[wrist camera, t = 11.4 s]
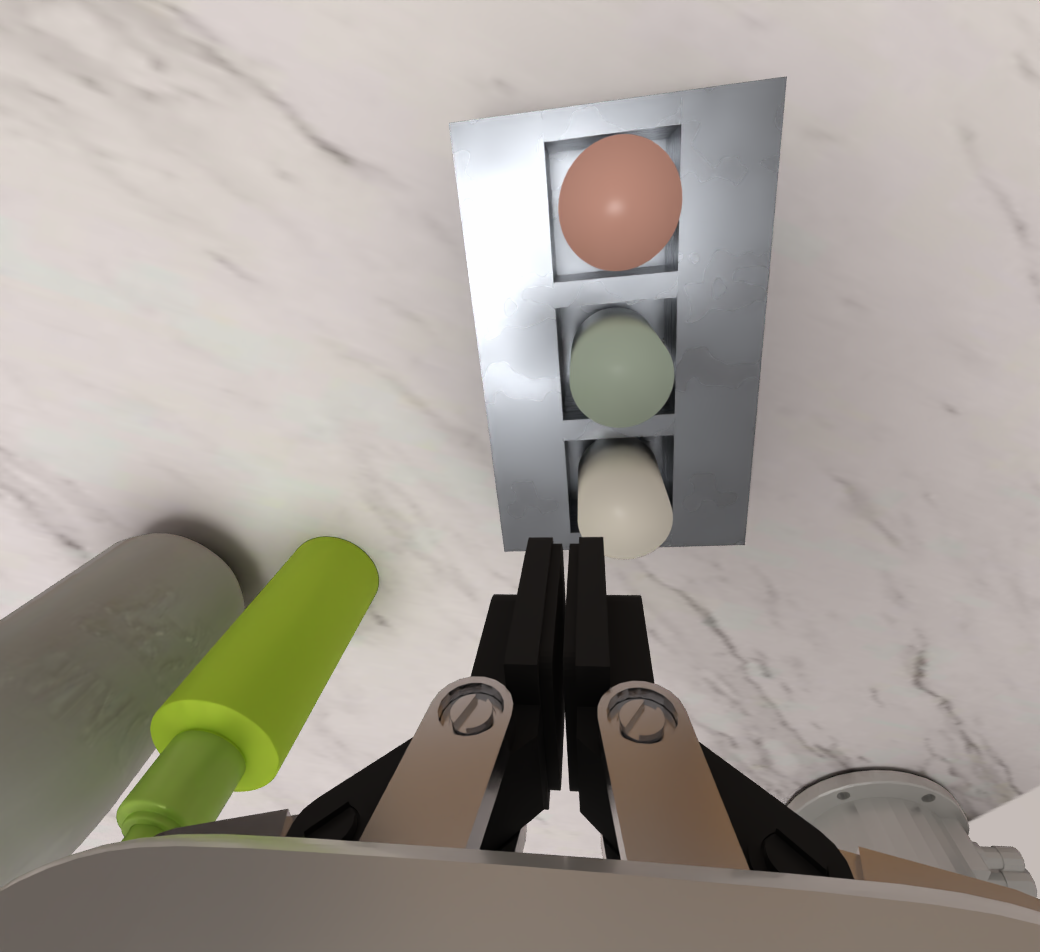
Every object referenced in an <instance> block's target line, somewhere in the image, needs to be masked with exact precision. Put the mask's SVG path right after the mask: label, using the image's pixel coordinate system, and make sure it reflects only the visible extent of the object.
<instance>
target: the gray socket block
mask: <svg viewBox="0 0 1040 952" xmlns="http://www.w3.org/2000/svg"><path fill="white" fill-rule="evenodd" d="M786 79H787V77H779V78H772V79H765V80H758V81H750V82H743V83H736V84H728V85H721V86H714V87H707V88H699V89H692V90H685V91H678V92H670V93H663V94H656V95H649V96H641V97H634V98H627V99H620V100H612V101H605V102H598V103H591V104H583V105H576V106H569V107H561V108H554V109H547V110H540V111H532V112H525V113H518V114H511V115H503V116H496V117H489V118H482V119H474V120H467V121H460V122H453V123H449V129H450V136H451V144H452V152H453V159H454V167H455V175H456V182H457V190H458V198H459V206H460V213H461V221H462V229H463V236H464V244H465V252H466V259H467V267H468V275H469V282H470V290H471V298H472V305H473V313H474V321H475V329H476V336H477V344H478V352H479V359H480V367H481V375H482V382H483V390H484V398H485V405H486V413H487V421H488V428H489V436H490V444H491V451H492V459H493V467H494V475H495V482H496V490H497V498H498V505H499V513H500V521H501V528H502V536H503V544H504V551H505V552H507V551H526V547H527V542H528V538H529V537H553V542H554V544H562V546H563V550H569V546H570V543H579V537H582V536H581V533H580V531H579V527H578V465H579V461H580V459H581V456H582V454H583V453H584V451H585V450H586V449H587V448H588V447H589V446H590V445H591V444H592V443H594V442H595V441H597V440H598V439H608V438H626V437H635V438H637V439H639V440H641V441H642V442H644V443H645V444H646V445H647V446H648V447H649V448H650V449H651V451H652V452H653V454H654V456H655V458H656V461H657V464H658V467H659V470H660V473H661V476H662V480H663V483H664V486H665V489H666V492H667V495H668V498H669V501H670V504H671V507H672V512H673V524H672V528H671V531H670V533H669V535H668V537H667V538H666V540H665V541H664V542H663V543H662V544H661V545H660V546H659V547H684V546H719V545H745V535H746V524H747V513H748V502H749V491H750V480H751V468H752V457H753V446H754V435H755V424H756V413H757V402H758V391H759V380H760V368H761V357H762V346H763V335H764V324H765V313H766V302H767V291H768V279H769V268H770V257H771V246H772V235H773V224H774V213H775V202H776V190H777V179H778V168H779V157H780V146H781V135H782V124H783V113H784V102H785V90H786ZM618 134H632V135H638V136H641V137H644V138H647V139H649V140H651V141H653V142H654V143H656V144H658V145H659V146H660V147H661V148H662V149H663V150H664V151H665V152H666V153H667V154H668V155H669V156H670V158H671V159H672V161H673V163H674V164H675V166H676V169H677V171H678V173H679V177H680V180H681V186H682V209H681V214H680V218H679V221H678V224H677V227H676V229H675V231H674V233H673V235H672V237H671V238H670V240H669V241H668V243H667V244H666V245H665V247H664V248H663V249H662V250H661V251H660V252H659V253H658V254H657V255H656V256H654V257H653V258H652V259H651V260H649V261H648V262H646V263H644V264H642V265H640V266H638V267H636V268H632V269H629V270H623V271H607V270H602V269H598V268H596V267H593V266H591V265H589V264H588V263H586V262H584V261H583V260H582V259H581V258H579V257H578V256H577V255H576V254H575V253H574V252H573V250H572V249H571V248H570V246H569V245H568V243H567V241H566V239H565V238H564V235H563V232H562V230H561V226H560V222H559V214H558V203H559V195H560V190H561V186H562V183H563V181H564V178H565V176H566V174H567V172H568V170H569V168H570V167H571V165H572V163H573V162H574V161H575V160H576V158H577V157H578V156H579V155H580V154H581V153H582V152H583V151H584V150H585V149H586V148H588V147H589V146H590V145H592V144H593V143H595V142H597V141H599V140H601V139H603V138H606V137H609V136H613V135H618ZM616 307H619V308H626V309H630V310H632V311H635V312H636V313H638V314H640V315H641V316H642V317H644V318H645V319H646V320H647V321H648V323H649V324H650V325H651V327H652V328H653V330H654V331H655V333H656V334H657V335H658V337H659V338H660V340H661V341H662V343H663V344H664V345H665V347H666V348H667V350H668V352H669V354H670V356H671V358H672V361H673V366H674V383H673V387H672V391H671V393H670V396H669V398H668V400H667V401H666V403H665V404H664V406H663V407H662V408H661V409H660V410H659V411H658V412H657V413H656V414H655V415H654V416H653V417H651V418H650V419H648V420H646V421H644V422H643V423H640V424H638V425H635V426H630V427H624V428H614V427H608V426H604V425H601V424H599V423H596V422H594V421H593V420H591V419H590V418H588V417H587V416H586V415H585V414H584V413H583V412H582V411H581V410H580V409H579V408H578V406H577V405H576V403H575V401H574V399H573V396H572V393H571V390H570V362H571V348H572V342H573V339H574V336H575V334H576V332H577V330H578V328H579V327H580V326H581V324H582V323H583V322H584V321H585V320H586V319H587V318H588V317H590V316H591V315H593V314H594V313H596V312H598V311H600V310H603V309H607V308H616Z"/></svg>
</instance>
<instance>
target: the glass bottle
mask: <svg viewBox="0 0 1040 952" xmlns="http://www.w3.org/2000/svg"><path fill="white" fill-rule="evenodd" d="M244 610H245V608H244V600H243V595H242V592H241V589H240V586H239V583H238V581H237V579H236V577H235V575H234V573H233V572H232V570H231V569H230V567H229V566H228V565H227V564H226V563H225V562H224V561H223V560H222V559H221V558H220V557H219V556H217V555H216V554H215V553H213V552H212V551H211V550H209V549H208V548H206V547H205V546H203V545H201V544H199V543H197V542H195V541H193V540H191V539H188V538H185V537H182V536H178V535H173V534H163V533H153V534H146V535H141V536H136V537H131V538H128V539H125V540H122V541H119V542H117V543H115V544H114V545H112V546H111V547H109V548H108V549H106V550H105V551H103V552H102V553H100V554H99V555H97V556H96V557H94V558H93V559H91V560H90V561H88V562H87V563H85V564H84V565H82V566H81V567H79V568H78V569H76V570H75V571H73V572H72V573H70V574H69V575H67V576H66V577H64V578H63V579H61V580H60V581H58V582H57V583H55V584H54V585H52V586H51V587H49V588H48V589H46V590H45V591H43V592H42V593H40V594H39V595H37V596H36V597H34V598H33V599H31V600H30V601H28V602H27V603H25V604H24V605H22V606H21V607H19V608H18V609H17V610H15V611H14V612H12V613H11V614H9V615H8V616H6V617H5V618H3V619H2V620H0V887H2V886H4V885H5V884H7V883H9V882H10V881H12V880H13V879H15V878H17V877H19V876H21V875H23V874H25V873H27V872H29V871H31V870H34V869H36V868H38V867H40V866H43V865H45V864H47V863H50V862H52V861H55V860H57V859H60V858H63V857H66V856H70V855H71V854H72V853H73V852H74V851H75V850H76V849H77V848H78V847H79V846H80V845H81V843H82V842H83V841H84V840H85V839H86V838H87V836H88V835H89V834H90V833H91V832H92V831H93V830H94V829H95V827H96V826H97V825H98V824H99V823H100V821H101V820H102V819H103V818H104V816H105V815H106V814H107V813H108V812H109V811H110V809H111V808H112V807H113V806H114V804H115V803H116V802H117V800H118V799H119V797H120V796H121V795H122V793H123V792H124V791H125V789H126V788H127V787H128V785H129V784H130V782H131V781H132V780H133V778H134V777H135V776H136V775H137V773H138V772H139V771H140V769H141V768H142V766H143V765H144V764H145V762H146V761H147V760H148V758H149V757H150V756H151V754H152V753H153V752H154V750H155V749H156V747H155V745H154V743H153V740H152V737H151V731H150V726H151V721H152V718H153V716H154V714H155V713H156V712H157V710H158V709H159V708H160V707H161V706H162V705H163V704H164V702H165V701H166V700H167V699H168V698H169V697H170V695H171V694H172V693H173V692H174V691H175V690H176V689H177V687H178V686H179V685H180V684H181V683H182V682H183V681H184V679H185V678H186V677H187V676H188V675H189V674H190V672H191V671H192V670H193V669H194V668H195V667H196V666H197V664H198V663H199V662H200V661H201V660H202V659H203V657H204V656H205V655H206V654H207V653H208V652H209V651H210V649H211V648H212V647H213V646H214V645H215V644H216V643H217V641H218V640H219V639H220V638H221V637H222V636H223V634H224V633H225V632H226V631H227V630H228V629H229V628H230V626H231V625H232V624H233V623H234V622H235V621H236V619H237V618H238V617H239V616H240V615H241V614H242V613H243V611H244Z"/></svg>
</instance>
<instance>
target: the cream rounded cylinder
mask: <svg viewBox="0 0 1040 952" xmlns="http://www.w3.org/2000/svg"><path fill="white" fill-rule="evenodd" d="M672 524H673V512H672V507H671V504H670V501H669V498H668V495H667V492H666V489H665V486H664V483H663V480H662V476H661V473H660V470H659V467H658V464H657V461H656V458H655V456H654V454H653V452H652V451H651V449H650V448H649V447H648V446H647V445H646V444H645V443H644V442H642V441H641V440H639V439H637V438H635V437H626V438H608V439H598V440H597V441H595V442H594V443H592V444H591V445H590V446H589V447H588V448H587V449H586V450H585V451H584V453H583V454H582V456H581V459H580V461H579V465H578V527H579V531H580V533H581V536H582V537H603V541H604V556H607V557H610V558H614V559H634V558H639V557H642V556H645V555H647V554H649V553H651V552H653V551H654V550H656V549H657V548H658V547H659V546H660V545H661V544H662V543H663V542H664V541H665V540H666V538H667V537H668V535H669V533H670V531H671V528H672Z"/></svg>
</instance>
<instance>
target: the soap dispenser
mask: <svg viewBox="0 0 1040 952" xmlns="http://www.w3.org/2000/svg"><path fill="white" fill-rule="evenodd" d="M378 585H379V578H378V573H377V570H376V568H375V565H374V564H373V562H372V560H371V559H370V558H369V557H368V555H367V554H366V553H365V552H364V551H362V550H361V549H360V548H358V547H357V546H355V545H354V544H352V543H350V542H348V541H345V540H343V539H339V538H334V537H318V538H314V539H311V540H309V541H307V542H305V543H304V544H302V545H301V546H300V547H299V548H298V549H297V550H296V552H295V553H294V554H293V555H292V556H291V557H290V558H289V560H288V561H287V562H286V563H285V564H284V565H283V566H282V568H281V569H280V570H279V571H278V572H277V573H276V575H275V576H274V577H273V578H272V579H271V580H270V581H269V583H268V584H267V585H266V586H265V587H264V588H263V590H262V591H261V592H260V593H259V594H258V595H257V596H256V598H255V599H254V600H253V601H252V602H251V603H250V604H249V606H248V607H247V608H246V609H245V610H244V611H243V613H242V614H241V615H240V616H239V617H238V618H237V619H236V621H235V622H234V623H233V624H232V625H231V626H230V628H229V629H228V630H227V631H226V632H225V633H224V634H223V636H222V637H221V638H220V639H219V640H218V641H217V643H216V644H215V645H214V646H213V647H212V648H211V649H210V651H209V652H208V653H207V654H206V655H205V656H204V657H203V659H202V660H201V661H200V662H199V663H198V664H197V666H196V667H195V668H194V669H193V670H192V671H191V672H190V674H189V675H188V676H187V677H186V678H185V679H184V681H183V682H182V683H181V684H180V685H179V686H178V687H177V689H176V690H175V691H174V692H173V693H172V694H171V695H170V697H169V698H168V699H167V700H166V701H165V702H164V704H163V705H162V706H161V707H160V708H159V709H158V710H157V712H156V713H155V714H154V716H153V718H152V721H151V726H150V731H151V737H152V740H153V743H154V745H155V747H156V749H157V750H158V752H159V753H160V755H159V757H158V758H157V759H156V760H155V762H154V763H153V764H152V766H151V767H150V768H149V769H148V771H147V772H146V773H145V774H144V776H143V777H142V778H141V779H140V781H139V782H138V783H137V784H136V786H135V787H134V788H133V790H132V791H131V792H130V793H129V795H128V796H127V797H126V798H125V800H124V801H123V802H122V804H121V805H120V807H119V808H118V810H117V816H116V818H117V822H118V825H119V827H120V828H121V830H122V833H123V836H124V839H123V840H122V841H127V840H132V839H138V838H145V837H154V836H155V835H157V834H159V833H162V832H165V831H168V830H171V829H174V828H178V827H184V826H190V825H196V824H202V823H208V822H214V821H216V819H217V817H218V816H219V814H220V813H221V811H222V809H223V808H224V806H225V804H226V803H227V801H228V799H229V798H230V796H231V795H232V793H233V791H235V792H242V791H251V790H255V789H258V788H261V787H263V786H265V785H267V784H268V783H270V782H271V781H272V780H273V779H274V777H275V776H276V774H277V773H278V771H279V769H280V767H281V765H282V764H283V762H284V760H285V758H286V756H287V755H288V753H289V751H290V749H291V747H292V745H293V744H294V742H295V740H296V738H297V736H298V735H299V733H300V731H301V729H302V727H303V726H304V724H305V722H306V720H307V718H308V716H309V715H310V713H311V711H312V709H313V707H314V706H315V704H316V702H317V700H318V698H319V696H320V695H321V693H322V691H323V689H324V687H325V686H326V684H327V682H328V680H329V678H330V676H331V675H332V673H333V671H334V669H335V667H336V666H337V664H338V662H339V660H340V658H341V657H342V655H343V653H344V651H345V649H346V647H347V646H348V644H349V642H350V640H351V638H352V637H353V635H354V633H355V631H356V629H357V627H358V626H359V624H360V622H361V620H362V618H363V617H364V615H365V613H366V611H367V609H368V607H369V606H370V604H371V602H372V600H373V598H374V597H375V595H376V593H377V590H378ZM122 841H121V842H122Z"/></svg>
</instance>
